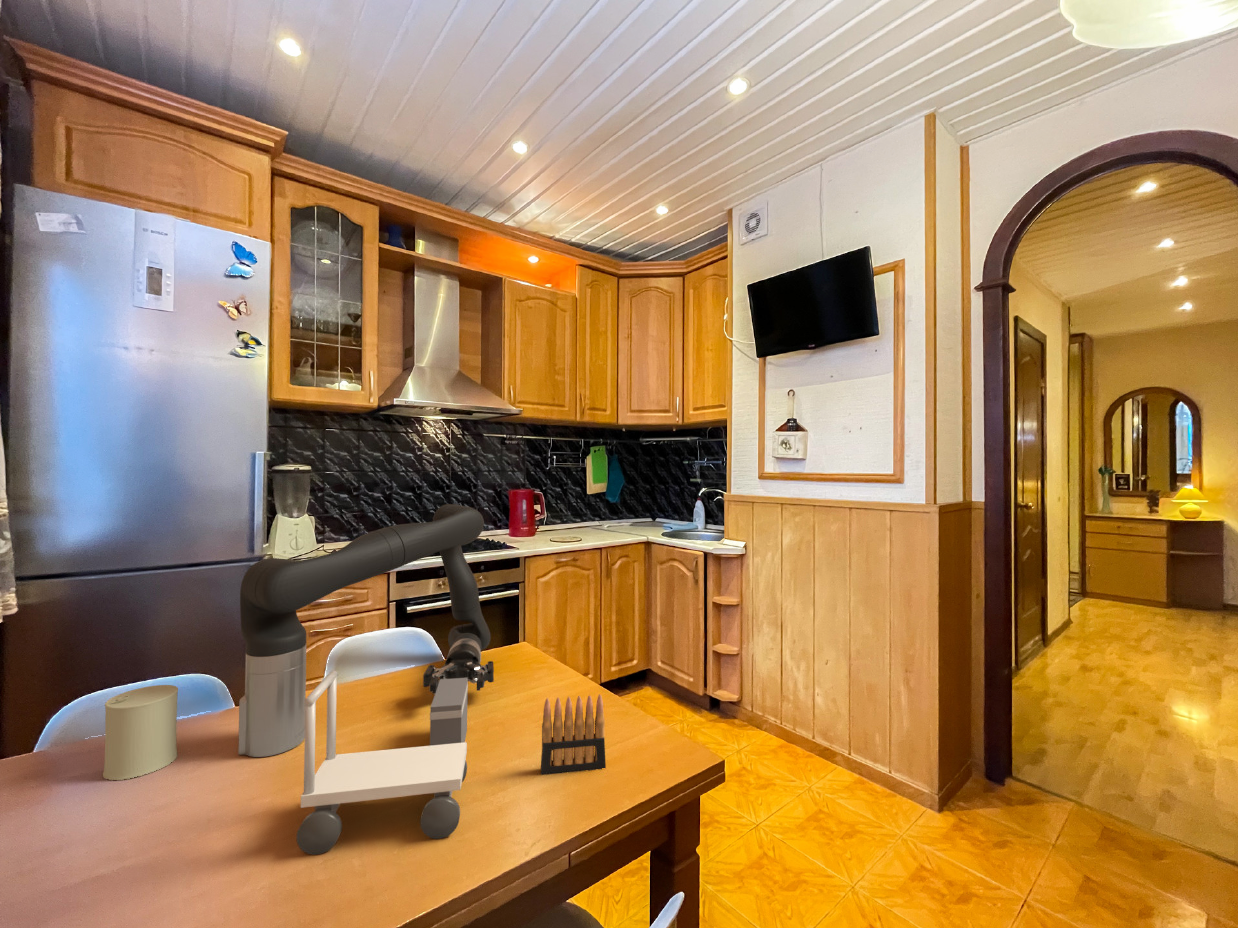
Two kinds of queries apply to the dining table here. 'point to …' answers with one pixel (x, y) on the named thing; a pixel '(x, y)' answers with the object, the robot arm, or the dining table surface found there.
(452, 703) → the grey lidded box
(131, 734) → the can
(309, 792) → the trolley
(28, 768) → the dining table surface
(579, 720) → the ammunition clip
